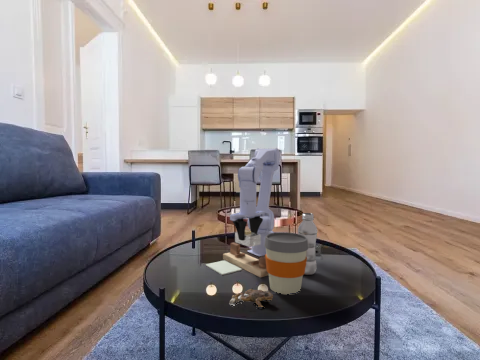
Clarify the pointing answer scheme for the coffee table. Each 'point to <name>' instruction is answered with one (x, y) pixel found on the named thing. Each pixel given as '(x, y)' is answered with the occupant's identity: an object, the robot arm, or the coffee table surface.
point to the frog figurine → (252, 297)
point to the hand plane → (246, 261)
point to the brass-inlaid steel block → (249, 239)
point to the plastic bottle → (309, 241)
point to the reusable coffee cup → (285, 261)
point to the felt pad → (223, 267)
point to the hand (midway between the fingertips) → (247, 238)
